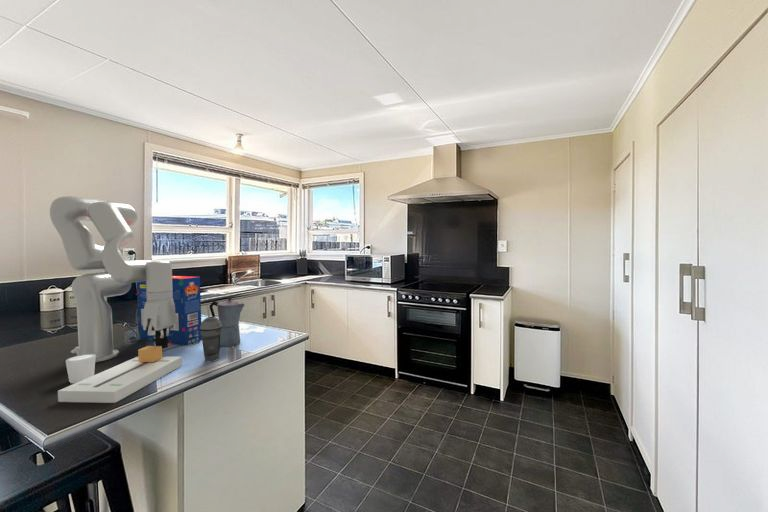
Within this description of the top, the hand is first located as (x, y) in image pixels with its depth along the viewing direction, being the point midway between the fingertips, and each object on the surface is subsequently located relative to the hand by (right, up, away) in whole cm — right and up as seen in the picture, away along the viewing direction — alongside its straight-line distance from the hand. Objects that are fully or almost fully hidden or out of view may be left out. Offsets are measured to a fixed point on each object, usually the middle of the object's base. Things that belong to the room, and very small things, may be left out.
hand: (161, 348), depth 112 cm
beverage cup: (+15, -6, +4) cm, 17 cm away
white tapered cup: (-17, -7, -12) cm, 21 cm away
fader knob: (0, -2, -5) cm, 6 cm away
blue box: (-17, -5, +29) cm, 34 cm away
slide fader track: (-1, -6, -14) cm, 15 cm away
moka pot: (+12, -5, +22) cm, 26 cm away
